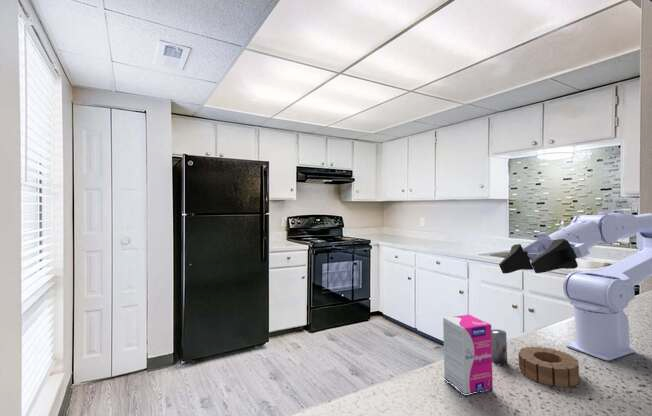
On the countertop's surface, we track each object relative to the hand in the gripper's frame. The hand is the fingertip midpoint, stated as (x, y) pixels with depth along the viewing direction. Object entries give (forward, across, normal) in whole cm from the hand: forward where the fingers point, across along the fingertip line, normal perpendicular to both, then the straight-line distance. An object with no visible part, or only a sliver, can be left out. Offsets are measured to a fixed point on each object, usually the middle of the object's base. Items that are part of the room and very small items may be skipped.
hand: (517, 268), depth 62 cm
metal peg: (+7, -7, +17) cm, 20 cm away
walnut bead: (+2, -1, +19) cm, 20 cm away
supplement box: (+18, -2, +15) cm, 23 cm away
